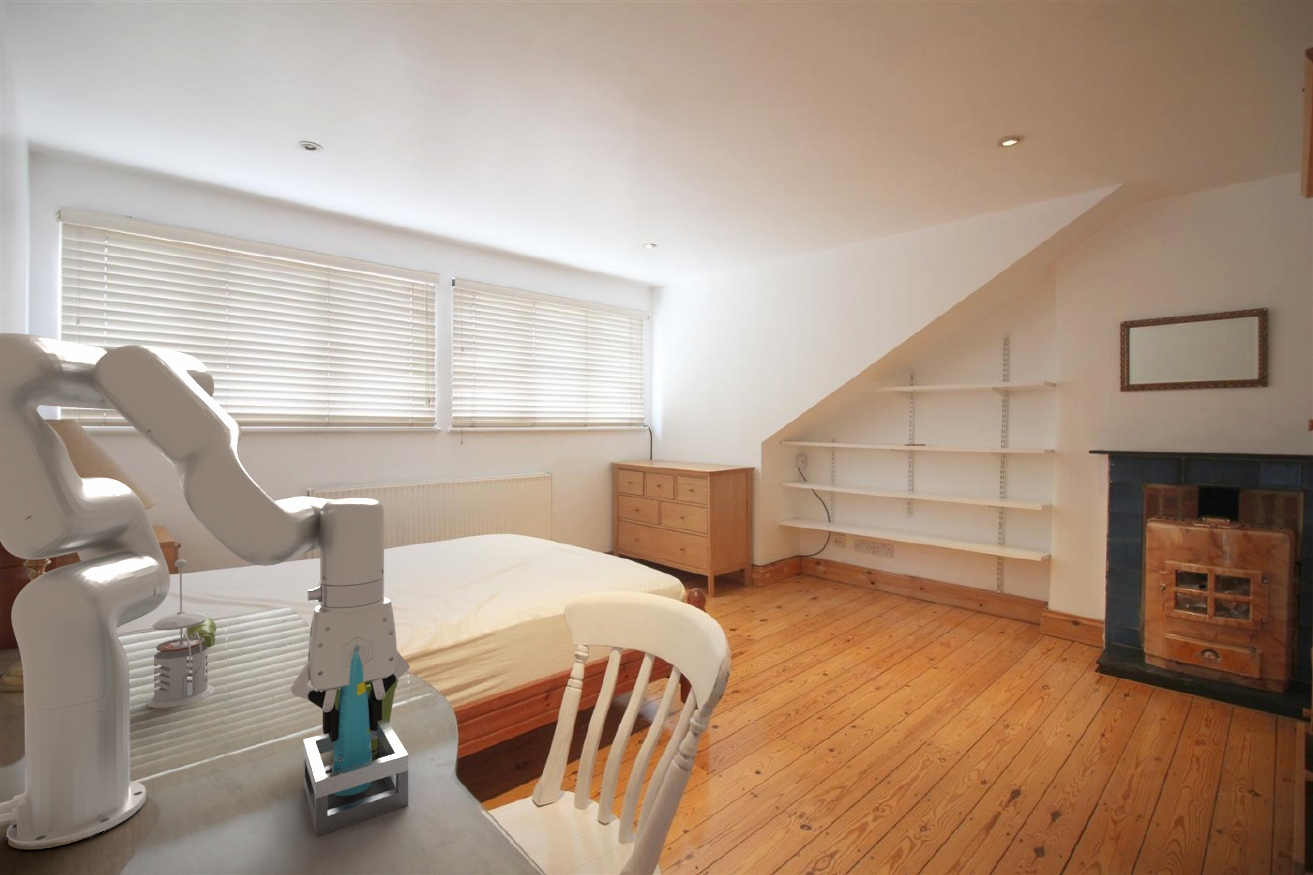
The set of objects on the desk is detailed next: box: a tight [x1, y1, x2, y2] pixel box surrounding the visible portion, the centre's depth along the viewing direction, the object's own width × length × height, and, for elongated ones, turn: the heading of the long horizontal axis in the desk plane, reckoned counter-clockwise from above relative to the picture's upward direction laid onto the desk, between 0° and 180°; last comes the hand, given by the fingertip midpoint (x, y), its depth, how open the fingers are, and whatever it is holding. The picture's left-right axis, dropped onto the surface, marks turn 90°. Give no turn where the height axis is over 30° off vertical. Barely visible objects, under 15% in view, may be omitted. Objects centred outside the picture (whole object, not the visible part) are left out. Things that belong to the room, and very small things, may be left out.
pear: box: [185, 618, 217, 647], centre depth 141 cm, size 6×5×10 cm
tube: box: [332, 647, 373, 797], centre depth 81 cm, size 7×5×19 cm, turn 39°
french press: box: [146, 558, 216, 709], centre depth 112 cm, size 10×12×25 cm
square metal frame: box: [303, 719, 409, 837], centre depth 81 cm, size 10×12×6 cm
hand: (352, 730), depth 81 cm, fingers closed on tube, 4 cm apart
